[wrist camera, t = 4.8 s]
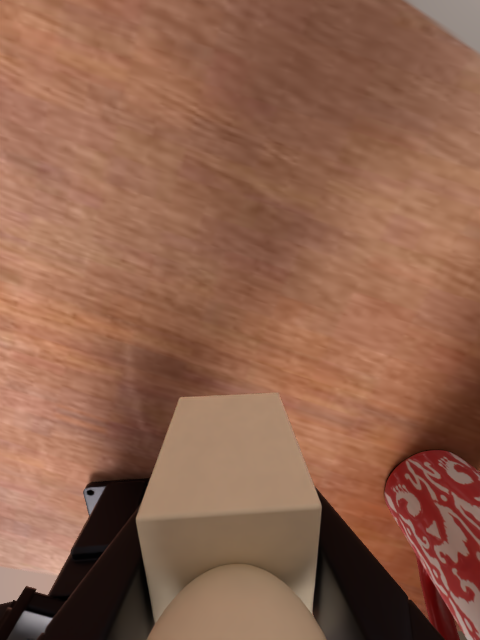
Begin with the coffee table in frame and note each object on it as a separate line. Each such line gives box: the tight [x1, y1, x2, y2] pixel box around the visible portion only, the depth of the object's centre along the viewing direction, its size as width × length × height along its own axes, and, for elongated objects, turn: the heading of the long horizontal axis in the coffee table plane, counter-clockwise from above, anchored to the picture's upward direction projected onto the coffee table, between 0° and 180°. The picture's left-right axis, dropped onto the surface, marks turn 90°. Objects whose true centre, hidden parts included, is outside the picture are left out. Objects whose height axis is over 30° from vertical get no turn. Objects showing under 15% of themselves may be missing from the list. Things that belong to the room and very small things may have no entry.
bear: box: [136, 393, 327, 640], centre depth 5 cm, size 4×4×8 cm
